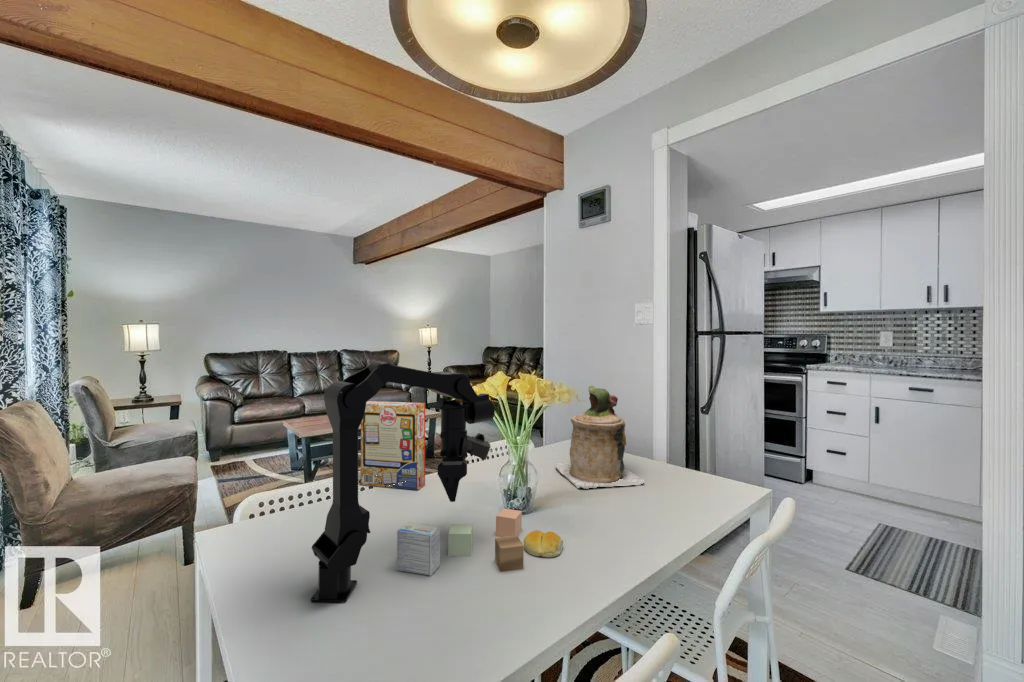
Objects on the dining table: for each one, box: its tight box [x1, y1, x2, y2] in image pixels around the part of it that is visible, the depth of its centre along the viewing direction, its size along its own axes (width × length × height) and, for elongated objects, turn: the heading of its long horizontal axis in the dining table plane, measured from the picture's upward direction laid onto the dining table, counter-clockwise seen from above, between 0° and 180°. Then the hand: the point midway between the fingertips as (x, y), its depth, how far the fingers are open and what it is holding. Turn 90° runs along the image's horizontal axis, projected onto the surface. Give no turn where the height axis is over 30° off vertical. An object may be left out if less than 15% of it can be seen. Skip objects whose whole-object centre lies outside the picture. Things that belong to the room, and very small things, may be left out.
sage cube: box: [447, 523, 474, 557], centre depth 100 cm, size 5×5×5 cm
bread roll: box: [523, 530, 564, 559], centre depth 101 cm, size 8×9×4 cm
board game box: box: [359, 400, 426, 491], centre depth 143 cm, size 20×6×27 cm, turn 77°
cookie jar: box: [554, 385, 645, 490], centre depth 154 cm, size 25×25×32 cm
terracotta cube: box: [495, 508, 523, 537], centre depth 109 cm, size 5×5×5 cm
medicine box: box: [396, 521, 441, 577], centre depth 92 cm, size 8×4×9 cm, turn 74°
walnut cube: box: [494, 535, 525, 573], centre depth 94 cm, size 5×5×5 cm
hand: (453, 494), depth 101 cm, fingers open, 9 cm apart
